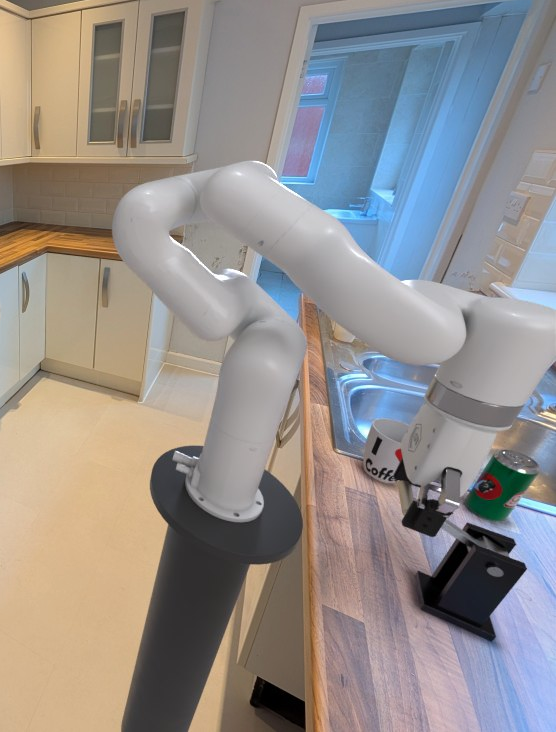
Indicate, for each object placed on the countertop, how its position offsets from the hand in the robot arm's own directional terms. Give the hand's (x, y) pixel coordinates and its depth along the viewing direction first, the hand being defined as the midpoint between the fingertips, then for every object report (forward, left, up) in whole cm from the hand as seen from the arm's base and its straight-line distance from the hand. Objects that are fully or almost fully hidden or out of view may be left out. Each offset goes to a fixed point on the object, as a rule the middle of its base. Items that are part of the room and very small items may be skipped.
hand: (411, 504), depth 58 cm
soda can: (+17, +25, -14) cm, 33 cm away
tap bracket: (+9, 0, -14) cm, 17 cm away
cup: (+3, +26, -14) cm, 30 cm away
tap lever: (+4, 0, -3) cm, 5 cm away
